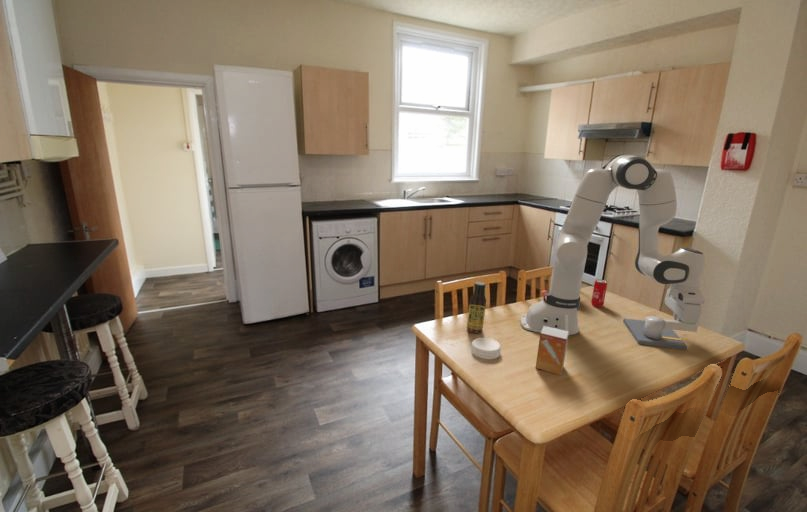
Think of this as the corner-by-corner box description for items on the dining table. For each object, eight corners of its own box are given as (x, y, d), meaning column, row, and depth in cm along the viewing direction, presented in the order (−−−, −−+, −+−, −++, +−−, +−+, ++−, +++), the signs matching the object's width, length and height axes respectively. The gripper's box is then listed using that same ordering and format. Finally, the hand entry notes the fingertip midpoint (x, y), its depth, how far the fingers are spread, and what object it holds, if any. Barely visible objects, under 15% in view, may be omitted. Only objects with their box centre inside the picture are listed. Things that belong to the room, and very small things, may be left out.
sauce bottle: (466, 332, 150) (469, 284, 144) (467, 325, 156) (470, 279, 150) (483, 334, 148) (487, 286, 143) (483, 327, 154) (487, 281, 149)
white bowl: (504, 351, 137) (505, 342, 136) (494, 363, 129) (495, 354, 128) (477, 343, 143) (478, 334, 142) (466, 354, 135) (467, 345, 134)
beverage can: (604, 308, 176) (608, 283, 173) (592, 306, 177) (596, 282, 174) (601, 303, 181) (605, 279, 178) (589, 302, 182) (593, 278, 179)
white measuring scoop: (646, 337, 145) (650, 322, 143) (640, 330, 150) (643, 315, 148) (697, 343, 141) (701, 327, 140) (689, 335, 147) (692, 320, 145)
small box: (535, 368, 126) (539, 332, 123) (538, 359, 132) (543, 325, 128) (561, 375, 123) (566, 338, 119) (563, 366, 128) (569, 330, 124)
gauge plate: (637, 343, 144) (638, 339, 144) (623, 321, 163) (623, 317, 162) (686, 350, 140) (687, 345, 140) (665, 326, 159) (666, 322, 159)
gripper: (663, 281, 153) (657, 313, 157) (686, 300, 134) (678, 336, 138) (681, 282, 152) (675, 314, 156) (707, 301, 133) (699, 338, 136)
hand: (677, 325), depth 147 cm, fingers closed
